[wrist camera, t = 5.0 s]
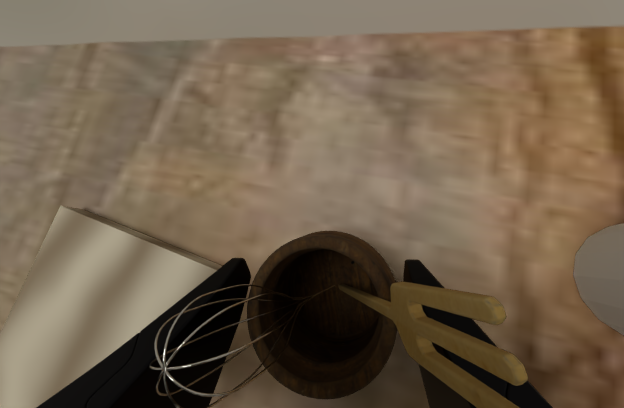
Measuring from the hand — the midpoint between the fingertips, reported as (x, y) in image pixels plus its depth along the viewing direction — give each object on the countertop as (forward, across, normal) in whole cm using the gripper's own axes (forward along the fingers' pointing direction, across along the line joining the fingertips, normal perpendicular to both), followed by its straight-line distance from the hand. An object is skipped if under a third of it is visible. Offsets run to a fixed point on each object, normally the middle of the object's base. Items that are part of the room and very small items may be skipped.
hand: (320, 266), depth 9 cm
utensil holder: (+4, 0, +6) cm, 7 cm away
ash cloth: (+1, +16, +8) cm, 18 cm away
